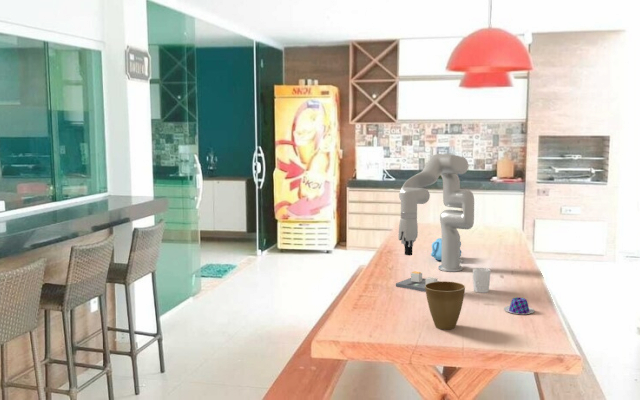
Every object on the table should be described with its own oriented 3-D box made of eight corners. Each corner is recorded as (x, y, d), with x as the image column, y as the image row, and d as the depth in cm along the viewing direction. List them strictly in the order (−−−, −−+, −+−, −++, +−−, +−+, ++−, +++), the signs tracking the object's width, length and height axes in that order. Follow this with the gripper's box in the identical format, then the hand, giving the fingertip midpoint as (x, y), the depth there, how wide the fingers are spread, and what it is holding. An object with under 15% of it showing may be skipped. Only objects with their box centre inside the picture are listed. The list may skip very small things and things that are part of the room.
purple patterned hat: (511, 305, 269) (512, 293, 268) (539, 310, 261) (539, 298, 260) (498, 312, 260) (499, 299, 259) (526, 317, 252) (527, 304, 251)
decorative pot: (464, 258, 360) (465, 235, 359) (455, 264, 346) (456, 239, 345) (437, 256, 368) (437, 233, 367) (427, 261, 355) (427, 237, 353)
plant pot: (458, 320, 249) (459, 280, 247) (469, 332, 234) (469, 290, 232) (421, 321, 248) (421, 281, 246) (429, 333, 234) (429, 291, 232)
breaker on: (428, 285, 295) (428, 276, 294) (437, 286, 292) (437, 278, 291) (425, 286, 292) (425, 278, 292) (433, 288, 289) (434, 279, 289)
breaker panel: (413, 279, 313) (413, 276, 313) (457, 287, 298) (457, 283, 298) (395, 286, 301) (395, 282, 301) (440, 294, 286) (440, 291, 286)
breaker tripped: (414, 279, 305) (414, 271, 305) (422, 281, 303) (422, 272, 302) (410, 280, 303) (410, 272, 303) (418, 282, 300) (418, 273, 300)
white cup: (477, 293, 287) (478, 272, 285) (469, 289, 294) (469, 268, 293) (493, 292, 289) (493, 270, 287) (484, 288, 296) (484, 267, 295)
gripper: (410, 213, 302) (410, 251, 304) (393, 217, 290) (392, 256, 292) (424, 215, 297) (423, 253, 299) (407, 218, 285) (406, 258, 287)
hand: (408, 254), depth 296 cm, fingers closed
